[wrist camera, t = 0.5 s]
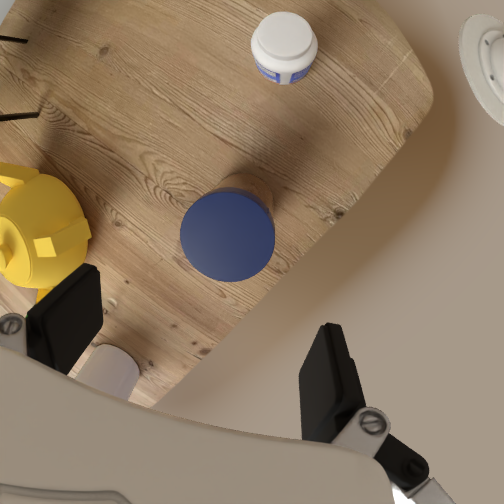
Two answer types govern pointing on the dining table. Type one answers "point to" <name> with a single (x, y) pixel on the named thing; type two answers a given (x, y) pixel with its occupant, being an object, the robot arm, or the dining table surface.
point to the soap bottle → (110, 371)
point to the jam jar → (249, 187)
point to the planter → (16, 115)
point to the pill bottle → (284, 47)
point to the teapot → (39, 229)
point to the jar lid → (228, 234)
